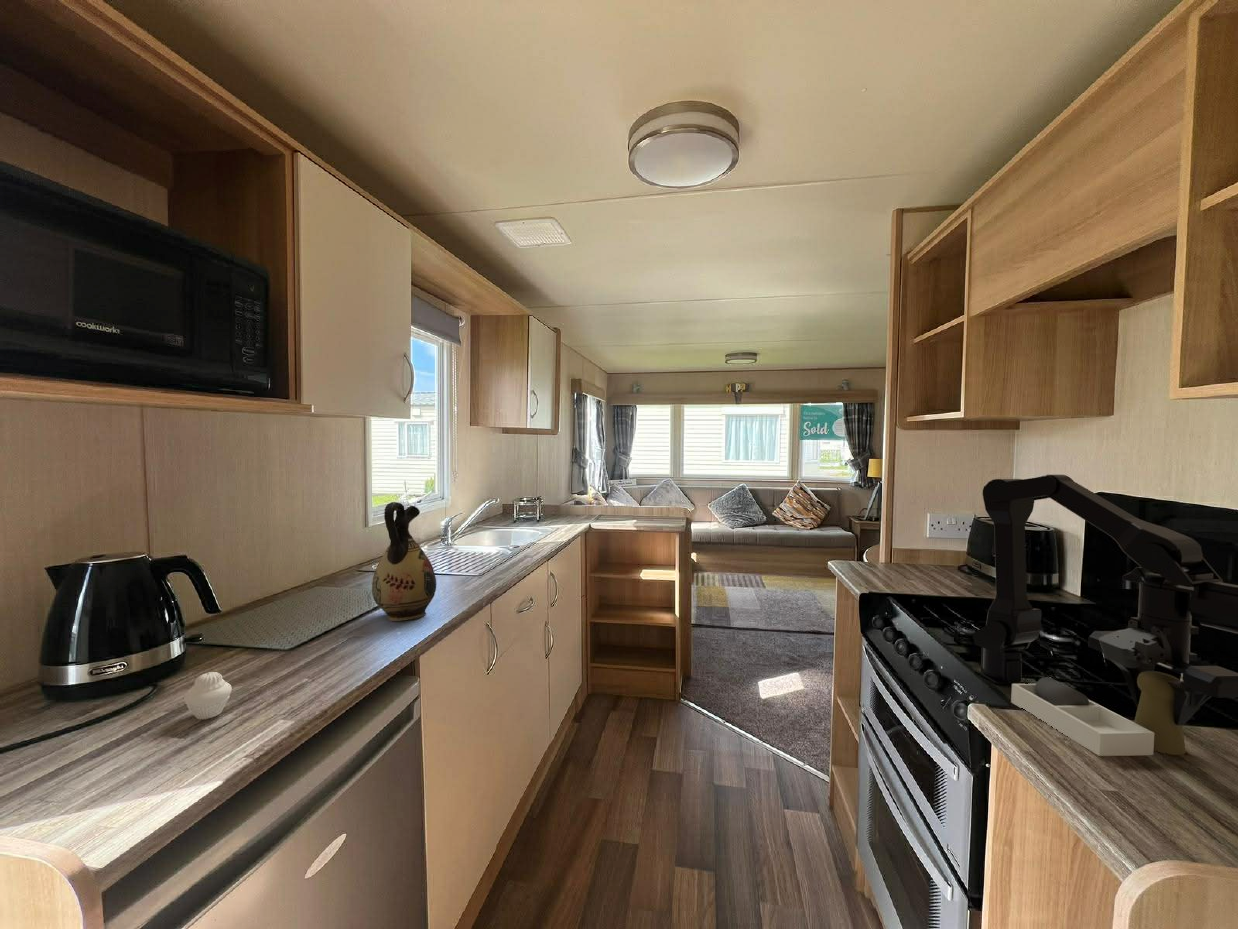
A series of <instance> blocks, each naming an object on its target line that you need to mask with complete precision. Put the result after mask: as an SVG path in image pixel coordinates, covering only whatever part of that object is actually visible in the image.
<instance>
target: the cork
mask: <svg viewBox="0 0 1238 929" xmlns="http://www.w3.org/2000/svg"><path fill="white" fill-rule="evenodd" d="M1167 681H1180V678H1177V677H1176V676H1173V675H1172V674H1168V673H1164V672H1161V671H1155V670H1154V671H1143V672H1141V673H1140V674H1139V675H1138V678H1137V684H1138V687H1139V688H1140V690H1141V691H1142V692H1141V696H1140V700H1139V704H1138V706H1137V709H1136V713H1135V717H1134V720H1133V722H1134V723H1136V724H1138V725H1140V726H1142V727H1144V728H1146V729H1148V730H1150V731H1152V732H1154V749H1153V752H1157V753H1158V752H1159V753H1161V754H1165V755H1170V756H1171V755H1172V756H1184V755H1186V754H1185V753H1186V752H1187V751H1186V743H1185V735H1184V727H1183V726H1184V725H1180V726H1178V725H1176V724H1175V722H1174V690H1173V689H1172V687H1171V686H1170V685H1169V684H1168V682H1167ZM1166 753H1167V754H1166Z"/></svg>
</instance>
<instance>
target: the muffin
mask: <svg viewBox="0 0 1238 929" xmlns="http://www.w3.org/2000/svg"><path fill="white" fill-rule="evenodd" d="M232 691H233V690H232V685H231V684H230V683H229V682H227V681H226V680H224V679H223V676H222V674H221V673H220V672H216V671H215V672H214V671H211V672H206V673H203V674H200V675H199V676H198V677H196V678H195V681H194V684H193V685H192V687H191V688H190V689H188V691H187V692H186V693H185V695H184V703H185V704H186V707H187V708H188V709H189V711H190V712H191V714H192V715H193V716H194V717H195V718H196V719H197V720H208V719H212V718H214V717H217V716H218V715H220V714H221V713H222V711H223V710H224V708H225V706H226V704H227V703H228V701H229V699H230V697H231V693H232Z"/></svg>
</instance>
